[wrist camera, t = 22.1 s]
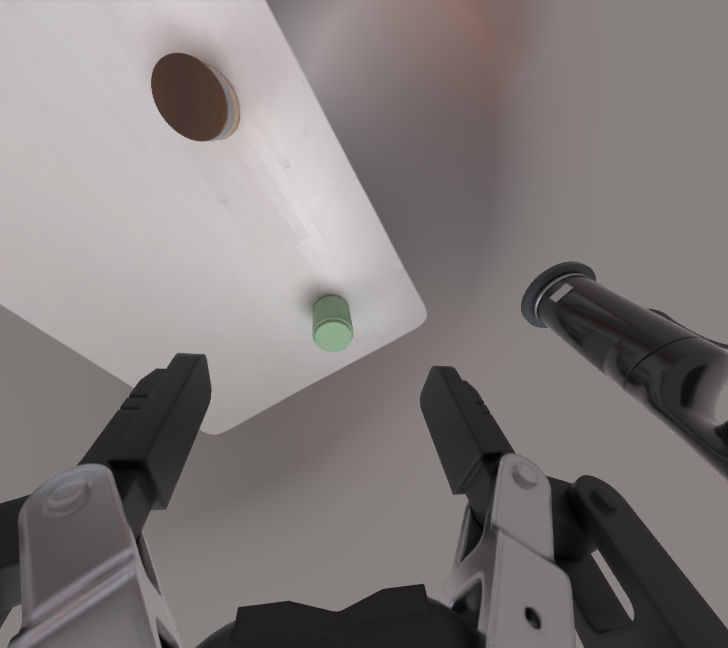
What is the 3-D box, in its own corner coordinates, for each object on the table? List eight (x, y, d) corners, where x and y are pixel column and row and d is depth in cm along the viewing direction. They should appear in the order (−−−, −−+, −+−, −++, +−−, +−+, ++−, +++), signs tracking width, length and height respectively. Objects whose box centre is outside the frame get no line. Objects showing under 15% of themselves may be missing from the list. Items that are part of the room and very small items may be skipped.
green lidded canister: (351, 296, 43) (357, 322, 37) (346, 327, 46) (350, 354, 40) (314, 293, 41) (314, 318, 36) (311, 324, 44) (310, 352, 39)
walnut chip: (232, 69, 25) (224, 63, 23) (236, 146, 28) (230, 147, 26) (157, 51, 24) (142, 43, 22) (171, 133, 27) (159, 133, 25)
